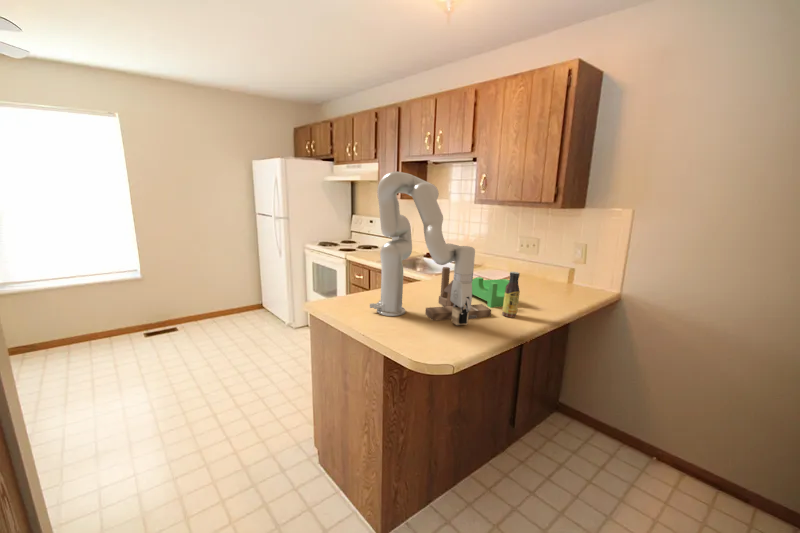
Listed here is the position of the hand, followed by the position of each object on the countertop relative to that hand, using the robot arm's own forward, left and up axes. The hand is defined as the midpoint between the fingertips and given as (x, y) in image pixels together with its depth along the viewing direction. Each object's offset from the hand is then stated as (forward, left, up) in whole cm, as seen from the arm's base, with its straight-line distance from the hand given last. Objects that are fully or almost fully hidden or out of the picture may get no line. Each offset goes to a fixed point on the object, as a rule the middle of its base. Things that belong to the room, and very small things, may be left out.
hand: (459, 320), depth 144 cm
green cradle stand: (+31, +30, -3) cm, 44 cm away
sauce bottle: (+28, +6, -2) cm, 29 cm away
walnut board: (+5, +11, -2) cm, 12 cm away
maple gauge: (+2, 0, -1) cm, 3 cm away
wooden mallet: (+6, +24, -2) cm, 25 cm away
